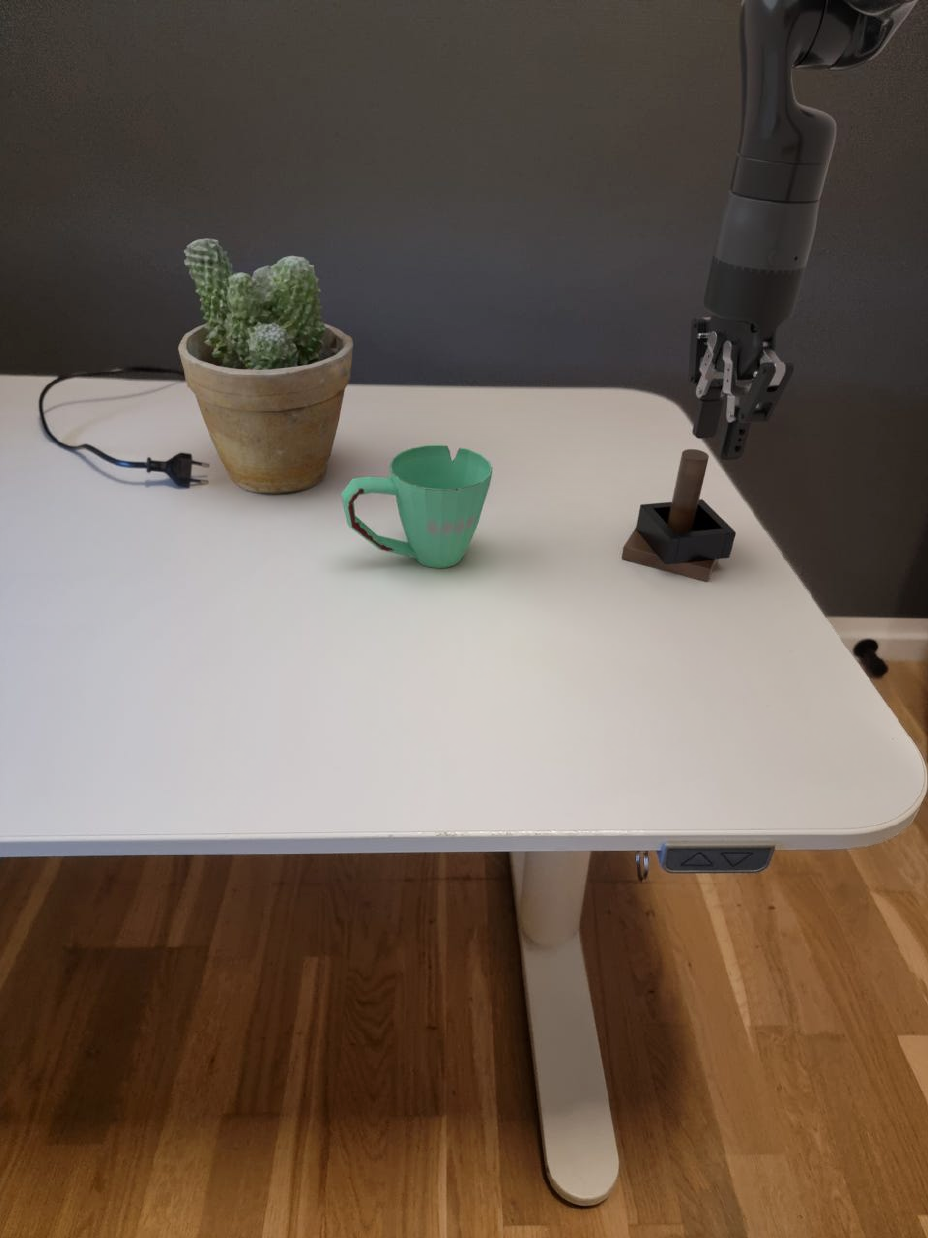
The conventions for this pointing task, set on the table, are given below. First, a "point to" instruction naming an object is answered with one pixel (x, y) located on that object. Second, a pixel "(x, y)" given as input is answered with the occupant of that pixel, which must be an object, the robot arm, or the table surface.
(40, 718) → the table surface
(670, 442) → the table surface
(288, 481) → the potted plant
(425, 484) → the mug
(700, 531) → the ring
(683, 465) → the post
